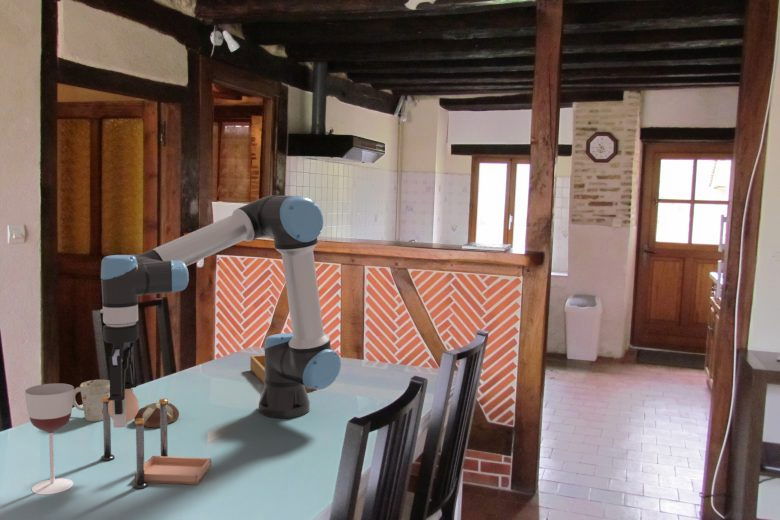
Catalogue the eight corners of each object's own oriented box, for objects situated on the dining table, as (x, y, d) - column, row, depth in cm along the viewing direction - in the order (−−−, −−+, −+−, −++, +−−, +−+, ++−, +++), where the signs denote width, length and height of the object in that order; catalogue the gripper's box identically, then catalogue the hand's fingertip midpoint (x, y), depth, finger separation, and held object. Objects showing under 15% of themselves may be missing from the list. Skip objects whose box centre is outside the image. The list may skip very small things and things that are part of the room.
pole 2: (150, 483, 156) (149, 417, 155) (144, 489, 153) (143, 422, 152) (136, 482, 156) (135, 416, 155) (131, 488, 153) (130, 421, 152)
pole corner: (172, 459, 170) (171, 398, 168) (168, 463, 167) (167, 402, 166) (160, 458, 170) (159, 397, 169) (155, 463, 167) (154, 401, 166)
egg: (113, 429, 156) (112, 395, 156) (104, 421, 162) (103, 388, 161) (143, 423, 161) (142, 390, 160) (133, 415, 166) (132, 383, 165)
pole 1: (116, 456, 171) (115, 395, 169) (110, 461, 168) (109, 399, 166) (104, 456, 171) (103, 395, 169) (98, 460, 168) (97, 399, 166)
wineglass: (38, 478, 158) (35, 383, 155) (82, 477, 159) (79, 383, 156) (21, 495, 149) (17, 395, 147) (67, 494, 150) (64, 395, 147)
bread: (185, 418, 199) (185, 401, 199) (156, 431, 189) (156, 413, 189) (155, 412, 204) (155, 395, 204) (126, 424, 194) (125, 406, 193)
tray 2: (317, 391, 230) (317, 374, 229) (272, 395, 223) (272, 378, 223) (291, 367, 257) (291, 352, 257) (250, 371, 251) (250, 356, 251)
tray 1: (211, 466, 166) (211, 458, 166) (197, 484, 156) (197, 476, 156) (152, 463, 167) (152, 455, 167) (135, 482, 157) (134, 473, 157)
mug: (101, 424, 193) (100, 389, 192) (60, 420, 195) (59, 385, 194) (118, 414, 201) (118, 380, 200) (79, 410, 203) (79, 377, 202)
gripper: (114, 315, 167) (117, 407, 170) (91, 333, 148) (95, 437, 151) (146, 314, 168) (149, 406, 171) (128, 332, 149) (131, 436, 152)
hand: (123, 421), depth 161 cm, fingers closed on egg, 7 cm apart
